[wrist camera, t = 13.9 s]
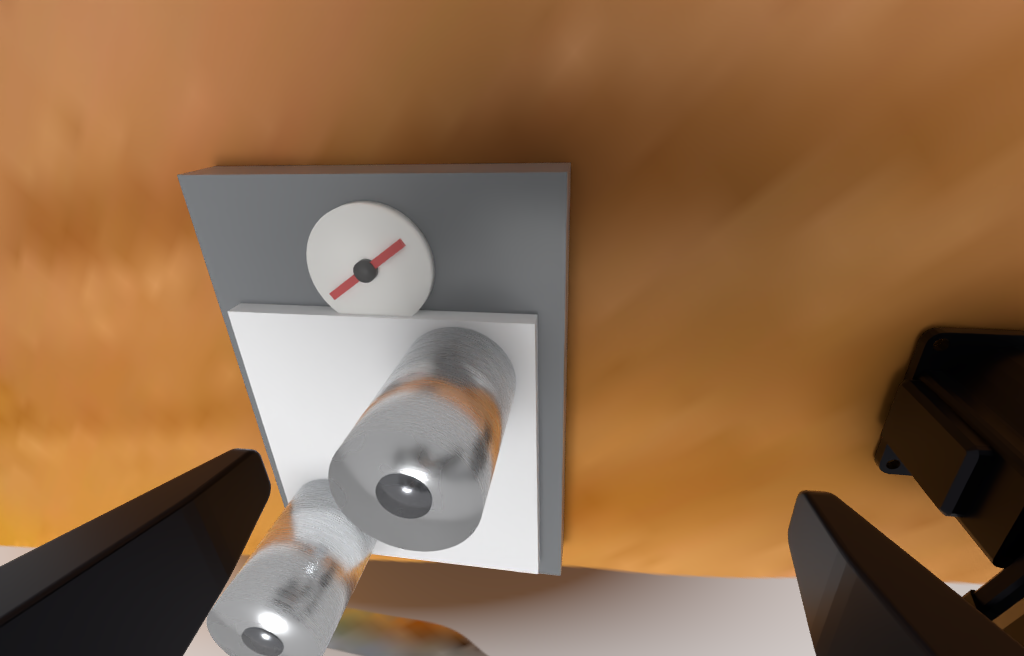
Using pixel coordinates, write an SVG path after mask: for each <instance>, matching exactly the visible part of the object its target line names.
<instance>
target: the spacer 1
mask: <svg viewBox="0 0 1024 656" xmlns="http://www.w3.org/2000/svg"><path fill="white" fill-rule="evenodd" d="M377 541H378V540H376V539H375V538H373V537H371V536H369V535H368V534H366V533H365V532H363V531H362V530H360V529H359V528H358V527H357V526H355V525H354V524H353V523H352V522H351V521H350V520H349V519H348V518H347V517H346V516H345V515H344V514H343V512H342V511H341V510H340V508H339V507H338V505H337V504H336V502H335V500H334V498H333V496H332V493H331V490H330V486H329V481H328V479H318V480H313V481H310V482H308V483H306V484H304V485H303V486H302V487H301V488H300V489H299V490H298V491H297V493H296V494H295V495H294V497H293V498H292V500H291V501H290V502H289V504H288V505H287V506H286V508H285V509H284V511H283V512H282V513H281V515H280V516H279V517H278V519H277V520H276V521H275V523H274V524H273V526H272V527H271V528H270V530H269V531H268V532H267V534H266V535H265V537H264V538H263V539H262V541H261V542H260V543H259V545H258V546H257V548H256V549H255V550H254V552H253V553H252V554H251V556H250V557H249V559H248V560H247V561H246V563H245V564H244V565H243V567H242V568H241V570H240V571H239V572H238V574H237V575H236V576H235V578H234V579H233V580H232V582H231V583H230V585H229V586H228V587H227V589H226V590H225V591H224V593H223V594H222V596H221V597H220V598H219V600H218V601H217V602H216V604H215V605H214V607H213V608H212V609H211V611H210V612H209V614H208V617H207V627H208V630H209V632H210V634H211V636H212V638H213V639H214V641H215V642H216V643H217V644H218V645H219V647H221V648H222V649H223V650H224V651H225V652H226V653H227V654H228V655H230V656H323V654H324V652H325V650H326V648H327V646H328V644H329V642H330V639H331V637H332V635H333V633H334V631H335V629H336V627H337V625H338V623H339V621H340V618H341V616H342V614H343V612H344V610H345V608H346V606H347V603H348V602H349V600H350V597H351V595H352V593H353V591H354V589H355V587H356V585H357V583H358V581H359V579H360V577H361V574H362V572H363V570H364V568H365V566H366V564H367V562H368V560H369V558H370V556H371V554H372V552H373V549H374V547H375V545H376V543H377Z"/></svg>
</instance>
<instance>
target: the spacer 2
mask: <svg viewBox="0 0 1024 656" xmlns="http://www.w3.org/2000/svg"><path fill="white" fill-rule="evenodd" d="M515 391H516V374H515V371H514V368H513V365H512V363H511V361H510V359H509V357H508V356H507V354H506V353H505V352H504V351H503V349H502V348H501V347H500V346H499V345H498V344H496V343H495V342H494V341H493V340H491V339H490V338H488V337H487V336H485V335H483V334H481V333H479V332H476V331H474V330H471V329H467V328H462V327H442V328H437V329H434V330H431V331H429V332H427V333H425V334H423V335H422V336H420V337H419V338H418V339H417V340H415V342H414V343H413V344H412V345H411V347H410V348H409V349H408V351H407V352H406V354H405V355H404V356H403V358H402V359H401V361H400V362H399V363H398V365H397V366H396V368H395V369H394V371H393V372H392V373H391V375H390V376H389V378H388V379H387V380H386V382H385V383H384V385H383V386H382V388H381V389H380V390H379V392H378V393H377V395H376V396H375V397H374V399H373V400H372V402H371V403H370V404H369V406H368V407H367V409H366V410H365V412H364V413H363V414H362V416H361V417H360V419H359V420H358V421H357V423H356V424H355V426H354V427H353V429H352V430H351V431H350V433H349V434H348V436H347V437H346V438H345V440H344V441H343V443H342V444H341V445H340V447H339V448H338V450H337V451H336V453H335V454H334V456H333V458H332V460H331V463H330V465H329V471H328V481H329V486H330V490H331V493H332V496H333V498H334V500H335V502H336V504H337V505H338V507H339V508H340V510H341V511H342V512H343V514H344V515H345V516H346V517H347V518H348V519H349V520H350V521H351V522H352V523H353V524H354V525H355V526H357V527H358V528H359V529H360V530H362V531H363V532H365V533H366V534H368V535H369V536H371V537H373V538H375V539H376V540H378V541H381V542H383V543H385V544H388V545H391V546H394V547H397V548H401V549H405V550H411V551H421V552H430V551H439V550H444V549H448V548H451V547H454V546H456V545H458V544H460V543H462V542H464V541H465V540H466V539H467V538H469V537H470V536H471V535H472V534H473V533H474V531H475V530H476V528H477V527H478V525H479V523H480V520H481V517H482V513H483V510H484V506H485V502H486V499H487V495H488V491H489V488H490V484H491V480H492V477H493V473H494V469H495V466H496V462H497V458H498V455H499V451H500V447H501V444H502V440H503V436H504V433H505V429H506V425H507V422H508V418H509V414H510V411H511V407H512V403H513V400H514V396H515Z"/></svg>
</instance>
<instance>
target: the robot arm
mask: <svg viewBox="0 0 1024 656" xmlns="http://www.w3.org/2000/svg"><path fill="white" fill-rule="evenodd" d="M939 339H943V340H942V342H941V343H940V344H938V345H936V346H933V344H934V343H935V342H936V341H937V340H939ZM881 436H882V439H881V442H880V444H879V447H878V450H877V452H876V455H875V462H876V464H877V465H878V467H879V468H880V470H881V471H883V472H884V473H888V474H897V475H910V476H913V477H914V479H915V480H916V481H917V482H918V484H919V485H920V486H921V488H922V489H923V490H924V491H925V493H926V494H927V495H928V497H929V498H930V499H931V500H932V502H933V503H934V504H935V505H936V507H937V508H938V509H939V510H940V511H941V512H942V513H943V514H944V515H945V516H953V517H955V518H956V519H957V520H958V521H959V522H960V524H961V525H962V526H963V527H964V529H965V530H966V531H967V532H968V534H969V535H970V536H971V537H972V539H973V540H974V541H975V542H976V544H977V545H978V546H979V547H980V549H981V550H982V551H983V552H984V554H985V555H986V556H987V557H988V559H989V560H990V561H991V562H992V563H993V565H994V566H996V567H999V568H1004V569H1003V570H1002V571H1000V572H999V573H998V574H997V575H995V576H994V577H993V578H992V579H990V580H989V581H988V582H987V583H985V584H984V585H983V586H982V587H980V588H979V589H978V590H976V591H975V590H970V591H969V592H968V593H966V594H965V595H964V596H963V597H961V596H960V595H959V594H957V593H956V592H955V591H954V590H952V589H951V588H950V587H949V586H947V585H946V584H945V583H944V582H942V581H941V580H940V579H939V578H938V577H936V576H935V575H934V574H933V573H931V572H930V571H929V570H928V569H926V568H925V567H924V566H923V565H921V564H920V563H919V562H918V561H916V560H915V559H914V558H913V557H911V556H910V555H909V554H908V553H906V552H905V551H904V550H903V549H901V548H900V547H899V546H898V545H896V544H895V543H894V542H893V541H891V540H890V539H889V538H888V537H886V536H885V535H884V534H883V533H882V532H880V531H879V530H878V529H877V528H875V527H874V526H873V525H872V524H870V523H869V522H868V521H867V520H865V519H864V518H863V517H862V516H860V515H859V514H858V513H857V512H855V511H854V510H853V509H852V508H850V507H849V506H848V505H847V504H845V503H844V502H843V501H842V500H840V499H839V498H838V497H837V496H835V495H834V494H832V493H829V492H821V491H808V490H805V491H801V492H800V493H799V494H798V496H797V499H796V503H795V506H794V510H793V514H792V517H791V521H790V525H789V529H788V542H789V548H790V552H791V556H792V560H793V564H794V568H795V572H796V577H797V581H798V584H799V589H800V593H801V597H802V601H803V605H804V610H805V614H806V618H807V622H808V626H809V630H810V634H811V638H812V641H813V645H814V649H815V653H816V656H1024V331H1023V330H996V329H969V328H943V327H939V328H932V329H930V330H927V331H926V332H925V333H923V334H922V336H921V337H920V339H919V341H918V344H917V347H916V349H915V352H914V354H913V357H912V360H911V362H910V365H909V368H908V370H907V373H906V376H905V378H904V381H903V382H902V383H901V384H900V385H899V388H898V390H897V393H896V396H895V398H894V401H893V404H892V406H891V409H890V412H889V414H888V417H887V420H886V422H885V425H884V428H883V430H882V433H881ZM890 460H893V461H892V462H888V461H890ZM887 462H888V463H887ZM270 491H271V484H270V480H269V478H268V475H267V472H266V469H265V466H264V463H263V461H262V458H261V455H260V454H259V453H258V452H257V451H256V450H252V449H239V448H238V449H232V450H230V451H228V452H226V453H224V454H222V455H220V456H218V457H216V458H214V459H212V460H210V461H208V462H206V463H204V464H202V465H200V466H198V467H196V468H194V469H192V470H190V471H188V472H186V473H184V474H182V475H180V476H178V477H176V478H174V479H172V480H170V481H168V482H166V483H164V484H162V485H160V486H158V487H156V488H154V489H152V490H150V491H148V492H146V493H144V494H143V495H141V496H139V497H137V498H135V499H133V500H131V501H129V502H127V503H125V504H123V505H121V506H119V507H117V508H115V509H113V510H111V511H109V512H107V513H105V514H103V515H101V516H99V517H97V518H95V519H93V520H91V521H89V522H87V523H85V524H83V525H81V526H79V527H77V528H75V529H73V530H71V531H69V532H67V533H65V534H63V535H61V536H59V537H58V538H56V539H54V540H52V541H50V542H48V543H46V544H44V545H42V546H40V547H38V548H36V549H34V550H32V551H30V552H28V553H26V554H24V555H22V556H20V557H18V558H16V559H14V560H12V561H10V562H8V563H6V564H4V565H2V566H0V656H183V655H184V653H185V652H186V650H187V648H188V647H189V645H190V643H191V642H192V640H193V638H194V636H195V635H196V633H197V632H198V630H199V628H200V627H201V625H202V623H203V622H204V620H205V618H206V617H207V615H208V613H209V612H210V610H211V608H212V607H213V605H214V603H215V602H216V600H217V598H218V597H219V595H220V593H221V592H222V590H223V588H224V587H225V585H226V583H227V581H228V580H229V577H230V576H231V574H232V572H233V570H234V568H235V566H236V564H237V562H238V560H239V558H240V556H241V554H242V552H243V550H244V548H245V546H246V544H247V542H248V540H249V538H250V535H251V533H252V531H253V529H254V527H255V525H256V523H257V521H258V519H259V517H260V515H261V513H262V511H263V509H264V507H265V505H266V503H267V501H268V498H269V495H270Z"/></svg>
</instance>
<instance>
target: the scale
mask: <svg viewBox="0 0 1024 656" xmlns="http://www.w3.org/2000/svg"><path fill="white" fill-rule="evenodd" d="M177 176H178V179H179V182H180V185H181V189H182V192H183V195H184V198H185V201H186V204H187V207H188V210H189V213H190V216H191V219H192V223H193V226H194V229H195V232H196V235H197V238H198V241H199V244H200V247H201V250H202V253H203V256H204V260H205V263H206V266H207V269H208V272H209V275H210V278H211V281H212V284H213V287H214V290H215V294H216V297H217V300H218V303H219V306H220V309H221V312H222V315H223V318H224V321H225V324H226V327H227V331H228V334H229V337H230V340H231V343H232V346H233V349H234V352H235V355H236V358H237V361H238V365H239V368H240V371H241V374H242V377H243V380H244V383H245V386H246V389H247V392H248V395H249V398H250V402H251V405H252V408H253V411H254V414H255V417H256V420H257V423H258V426H259V429H260V432H261V436H262V439H263V442H264V445H265V448H266V451H267V454H268V457H269V460H270V463H271V466H272V469H273V473H274V476H275V479H276V482H277V485H278V488H279V491H280V494H281V497H282V500H283V503H284V507H285V508H286V506H287V505H288V504H289V502H290V501H291V500H292V498H293V497H294V495H295V494H296V493H297V491H298V490H299V489H300V488H301V487H302V486H303V485H304V484H306V483H308V482H310V481H313V480H318V479H328V471H329V465H330V463H331V460H332V458H333V456H334V454H335V453H336V451H337V450H338V448H339V447H340V445H341V444H342V443H343V441H344V440H345V438H346V437H347V436H348V434H349V433H350V431H351V430H352V429H353V427H354V426H355V424H356V423H357V421H358V420H359V419H360V417H361V416H362V414H363V413H364V412H365V410H366V409H367V407H368V406H369V404H370V403H371V402H372V400H373V399H374V397H375V396H376V395H377V393H378V392H379V390H380V389H381V388H382V386H383V385H384V383H385V382H386V380H387V379H388V378H389V376H390V375H391V373H392V372H393V371H394V369H395V368H396V366H397V365H398V363H399V362H400V361H401V359H402V358H403V356H404V355H405V354H406V352H407V351H408V349H409V348H410V347H411V345H412V344H413V343H414V342H415V340H417V339H418V338H419V337H420V336H422V335H423V334H425V333H427V332H429V331H431V330H434V329H437V328H442V327H462V328H467V329H471V330H474V331H476V332H479V333H481V334H483V335H485V336H487V337H488V338H490V339H491V340H493V341H494V342H495V343H496V344H498V345H499V346H500V347H501V348H502V349H503V351H504V352H505V353H506V354H507V356H508V357H509V359H510V361H511V363H512V365H513V368H514V371H515V374H516V391H515V396H514V400H513V403H512V407H511V411H510V414H509V418H508V422H507V425H506V429H505V433H504V436H503V440H502V444H501V447H500V451H499V455H498V458H497V462H496V466H495V469H494V473H493V477H492V480H491V484H490V488H489V491H488V495H487V499H486V502H485V506H484V510H483V513H482V517H481V520H480V523H479V525H478V527H477V528H476V530H475V531H474V533H473V534H472V535H471V536H470V537H469V538H467V539H466V540H465V541H464V542H462V543H460V544H458V545H456V546H454V547H451V548H448V549H444V550H439V551H430V552H421V551H411V550H405V549H401V548H397V547H394V546H391V545H388V544H385V543H383V542H381V541H377V543H376V545H375V547H374V549H373V552H372V554H376V555H385V556H393V557H401V558H410V559H418V560H426V561H434V562H443V563H451V564H459V565H468V566H476V567H484V568H492V569H501V570H509V571H517V572H526V573H534V574H538V573H541V574H550V575H558V576H560V575H561V566H562V554H563V539H564V488H565V436H566V385H567V333H568V281H569V230H570V178H571V163H486V164H387V165H288V166H214V167H210V168H205V169H201V170H197V171H192V172H188V173H184V174H179V175H177Z"/></svg>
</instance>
